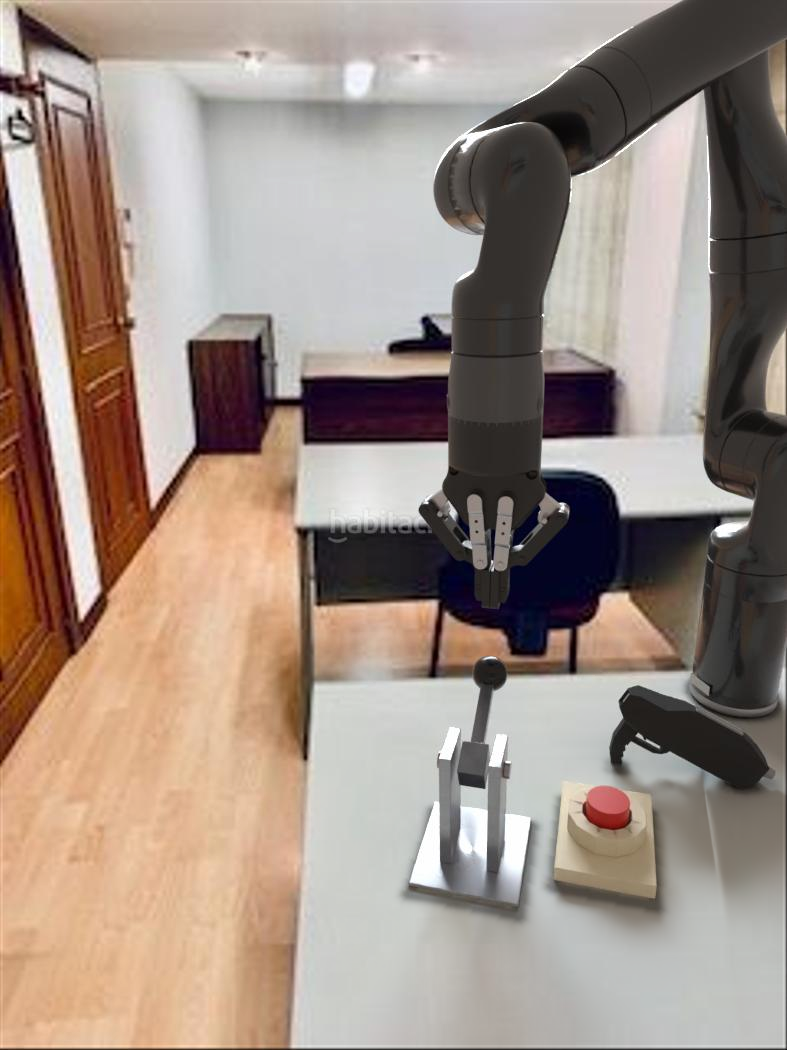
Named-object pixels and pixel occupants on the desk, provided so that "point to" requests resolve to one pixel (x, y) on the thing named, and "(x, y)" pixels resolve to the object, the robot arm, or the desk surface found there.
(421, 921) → the desk surface
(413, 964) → the desk surface
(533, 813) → the desk surface
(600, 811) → the button
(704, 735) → the gun
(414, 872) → the lever bracket
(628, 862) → the button block
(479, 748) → the press lever
